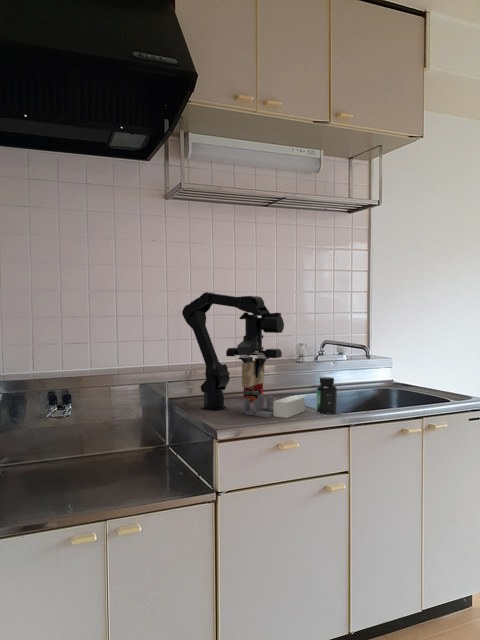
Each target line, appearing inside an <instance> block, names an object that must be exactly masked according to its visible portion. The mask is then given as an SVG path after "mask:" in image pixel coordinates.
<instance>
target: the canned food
mask: <svg viewBox="0 0 480 640" xmlns="http://www.w3.org/2000/svg"><path fill="white" fill-rule="evenodd" d="M242 389H243V399H246V398H250V403H253V400H257V396H258V395H264V383H261V384H257V385H254V386H251V387H248V388H246V387H242Z"/></svg>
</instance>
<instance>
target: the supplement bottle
mask: <svg viewBox="0 0 480 640" xmlns="http://www.w3.org/2000/svg"><path fill="white" fill-rule="evenodd" d="M334 384H335V379H334V377H331V376H330V377H329V376H321V377H319V385H318V386H317V387H316V412H317V413H318V412H320V413H319V414H321V413H335V414H336V413H337V412H338V409H337V408H338V389H337V386H336V385H334Z"/></svg>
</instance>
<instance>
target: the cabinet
mask: <svg viewBox="0 0 480 640" xmlns="http://www.w3.org/2000/svg"><path fill="white" fill-rule="evenodd" d="M264 397H265V395H264V394H263V395H258V396H257V400H253V402H252V403H253V404H252V406H253V407H252V409H251V402H250V398H246V399H244V398H243V400H242V404H243V407H242V410H243V411H242V412H243V415H249V416H255V417H256V416H257V417H262V418H263V417H264V418H271V417H275V418H276V417H277V418H285V419H287V418H290V417H293V416H297V415H299V414H302V413H304V411H305V403H306V402H305V400H306V399H305V396H296V395H291V396H287V397H283V398H280V399H277V400H274V395H268V396H266V405H264V404H265V403H264V400H265V398H264ZM301 412H302V413H301Z"/></svg>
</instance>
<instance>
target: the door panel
mask: <svg viewBox="0 0 480 640" xmlns="http://www.w3.org/2000/svg"><path fill="white" fill-rule="evenodd" d="M255 372H256V362H255V360H253V361H250V362H245V363H244V362H242V363H241V388H243V387H246V388H248V387H251V386H254V385H257V384H261V383H263V384H264V383H265V364H264V365H263V367H262V369H261V371H260V374H259V376H258V378H256V375H255Z"/></svg>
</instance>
